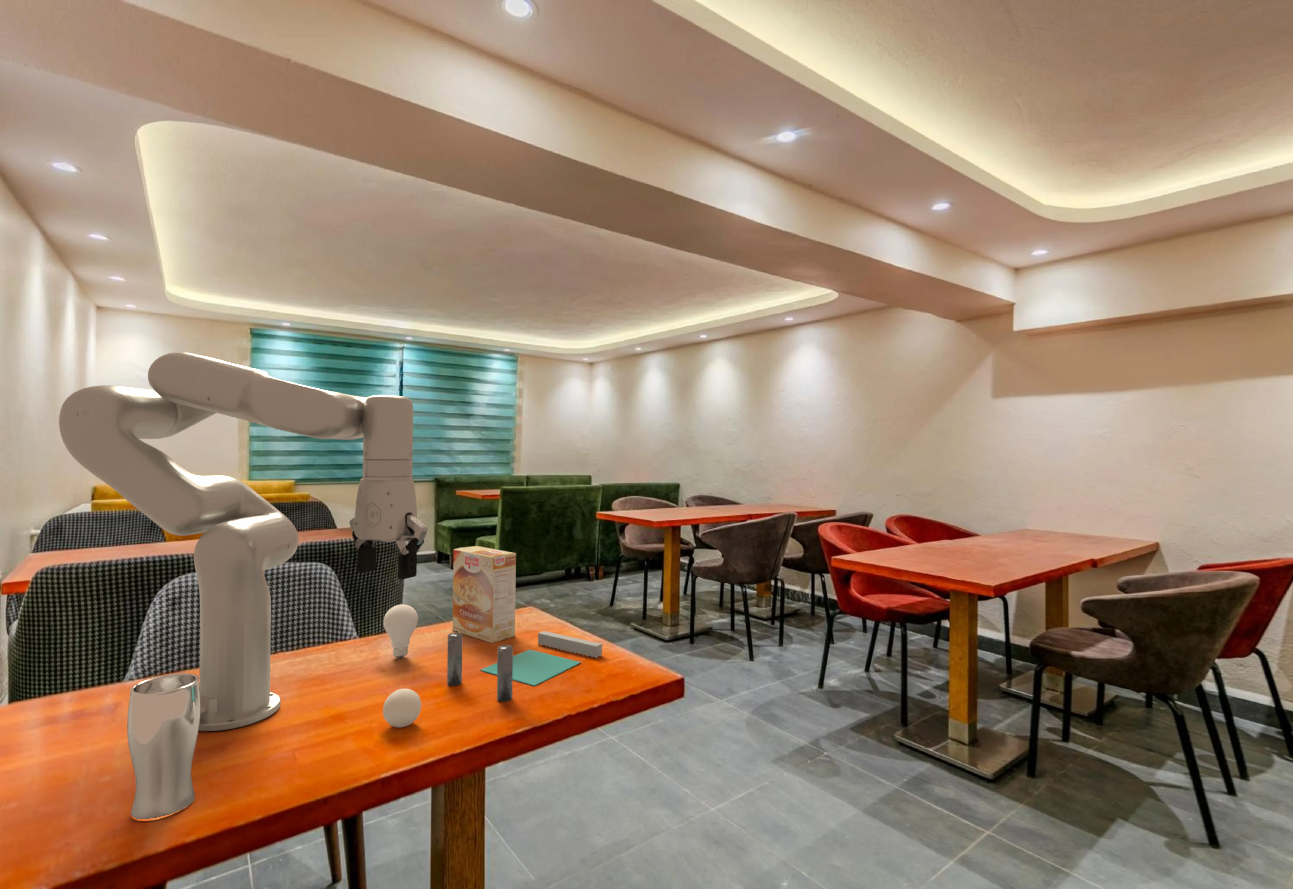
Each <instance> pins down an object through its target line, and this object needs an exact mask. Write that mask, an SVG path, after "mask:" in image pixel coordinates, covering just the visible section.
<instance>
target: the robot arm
mask: <svg viewBox="0 0 1293 889" xmlns="http://www.w3.org/2000/svg"><path fill="white" fill-rule="evenodd" d="M147 379H148V384H149V386H150V388H151V389H147V388H137V387H129V386H121V385H111V384H110V385H105V384H104V385H93V386H88V387H83V388H81V389H78V390H77V391H75V392H73V393H72V394H70V395H69V396H68V397H67V398H66V399H65V400H64V401H63V403H62V405H61V408H60V412H59V416H58V426H59V427H58V428H59V432H60V433H59V434H60V436H61V439H62V442H63V444H64V445H65V448H66V449H67V451H68V453H69V454H70V455H71V457H72V458H74V460H76V462H77V463H79V465H81V466H82V467H83V468H84V469H85V470H87V471H88V472H90V473H91V474H92V475H93V476H95V477H96V478H98V479H99V480H100V481H102V482H104V484H106V485H108V486H109V487H110V488H112V489H113V490H114V491H115V492H117V493H118V494H119V495H120V496H121V497H122V498H124V499H125V500H126V501H127V502H129V504H130V505H132V506H133V507H134V508H136V509H137V510H138V511H139V512H141V513H142V514H143V515H144V516H146V517H147V518H148V519H150V520H151V521H152V522H154V524H156V525H157V526H158V527H160V529H162V530H164V531H165V532H166V533H169V534H172V535H175V536H182V537H183V536H192V535H196V534H201V536H200V537H199V538H198V539H197V542H196V544H195V547H194V551H193V565H194V569H195V574H196V578H197V584H198V590H199V591H198V592H199V612H200V613H199V622H200V623H199V624H200V626H199V633H200V634H199V689H200V704H201V713H200V725H199V731H202V732H210V731H211V732H215V731H216V732H217V731H226V730H232V729H237V728H241V727H245V726H248V725H252V724H255V723H257V722H260V721H262V720H265V719H266V718H268V717H271V716H272V715H273V714H275V713H276V712H277V711H278V710H279V708H280V707H281V704H282V703H281V701H282V700H281V697H280V695H279V694H277V693H274V692H271V645H272V644H271V638H272V637H271V635H272V634H271V633H272V631H271V630H272V613H271V612H272V610H271V609H272V604H271V603H272V601H271V593H270V590H269V586H268V583H267V580H266V576H265V572H264V571H267V570H269V569H273V568H276V567H278V566H281V565H282V564H285V563H286V562H287V561H289V559H291V558H292V557H293V556H294V554H295V553H296V551H297V549H298V546H299V535H298V530H297V529H296V527H295V525H294V524H293V522H292V521H291V520H290V518H289V517H287V516H286V515H285V514H283V513H282V512H281V511H280V510H278V509H277V508H276V507H275V506H274V505H273V504H272V503H270V502H269V501H268V500H267V499H265V498H264V497H263V496H261V495H260V494H259V493H257V491H255V489H253V488H251V487H250V486H249V485H248V484H246V483H244V482H243V481H241V480H239V479H236V478H234V477H231V476H228V475H216V474H213V475H212V474H211V475H197V474H195V473H192V472H189V471H188V470H187V469H185V467H184V468H183V466H181V465H179V464H178V463H177V462H176V461H175V460H173V459H172V457H170V456H169V455H167V454H166V453H165V452H163V451H162V450H160V449H158V448H156V447H154V446H153V445H151V444H148V443H147V442H144V441H143V440H145V439H147V440H159V439H164V438H168V437H169V438H170V437H172V436H175V435H177V434H179V433H182V432H183V431H186V430H187V429H189V428H190V427H193V426H194V425H196V424H199V423H200V422H203V421H204V420H206V419H208V418H210V417H211V416H213V415H215V414H220V415H223V416H228V417H230V418H231V417H232V418H236V419H239V420H242V421H246V422H250V423H254V424H257V425H261V426H264V427H268V428H270V429H275V430H280V431H282V432H283V431H284V432H288V433H292V434H296V435H300V436H305V437H309V438H313V439H318V440H319V439H320V440H342V441H344V440H347V441H348V440H358V439H363V440H362V446H363V447H362V478H360V479H359V480H360V481H359V484H358V488H357V494H356V500H355V509H354V511H355V512H354V517H353V518H352V519H350V521H349V527H350V529H351V532H352V533H351V536H352V538H353V540H354V542H355V543H354V547H355V548H356V549H357V554H356V555H357V556H356V559H357V560H356V561H357V564H356V568H357V570H356V571H357V572H358V573H361V574H363V573H367V572H373V571H376V570H377V545H374V544H375V543H376V542H382V543H392V542H395V543H396V545H397V547H398V548H399V551H400V552H401V553H399V554H398V556H397V557H398V558H397V560H398V562H397V563H398V564H397V577H398V579H399V580H407V579H411V578H415V577H416V576H417V575H418V574H417V572H418V571H417V568H418V567H417V564H418V561H417V560H418V556H417V555H418V553H419V552H420V551H421V547H422V546H423V544H424V543H425V539H426V537H427V533H428V531H429V529H428V528H429V527H428V526H426V524H424V523H423V522H422V521H420V520H419V519H418V506H417V505H418V503H417V495H416V493H417V492H416V488H415V481H414V479H413V458H414V457H413V453H414V452H413V447H414V446H413V445H414V444H413V443H414V441H413V440H414V405H413V402H412V399H410V398H408V397H406V396H401V395H392V394H391V395H389V394H386V395H385V394H377V395H370V396H367V397H364V396H358V395H351V394H346V393H342V392H337V391H330V390H325V389H320V388H316V387H311V386H307V385H303V384H298V383H296V382H291V381H287V380H282V379H279V378H276V377H272V376H271V375H270V374H269V373H268V372H267V371H264V370H260V369H258V368H253V367H249V366H244V365H240V364H236V363H233V362H232V363H231V362H227V361H224V360H222V359H218V358H214V357H209V356H205V355H199V354H195V353H193V352H192V353H191V352H183V351H182V352H181V351H180V352H177V351H176V352H170V353H166V354H164V355H163V354H162V355H161V356H159V357H158V358H157V359H155V360H154V361H153V362H152V363H151V364H150V366H149V368H148V371H147ZM202 533H203V534H202ZM407 542H408V543H407ZM199 731H198V732H199Z"/></svg>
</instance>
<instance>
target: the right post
mask: <svg viewBox="0 0 1293 889" xmlns="http://www.w3.org/2000/svg"><path fill="white" fill-rule="evenodd" d="M513 656H514V647H513V645H511V644H502V645H499V646H497V662H496V663H497V675H496V677H497V679H496V687H497V688H496V701H498V702H501V703H506V702H510V701H512V700H513V681H514V680H513Z"/></svg>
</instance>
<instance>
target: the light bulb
mask: <svg viewBox="0 0 1293 889" xmlns="http://www.w3.org/2000/svg"><path fill="white" fill-rule="evenodd" d="M418 617H419V616H418V613H417V611H416V609H414V608H413V606H411V605H408V604H402V603H400V604H396V605H394V606H392V607H391V608H389V610H388V611H386V613H385V615H384V617H383V622H382V623H383V628H384V631H385V632H386V633H387V635H388V636H389V638H390V641H391V642H390V643H391V646H392V648H393V649H392V656H393V657H394V658H398V659H402V658H404V657H406V656H407V655H408V653H409V645H410V640H411V637H412V635H413V633H414V631H415V630H416V628H417V626H418V622H419V621H418V620H419V618H418Z"/></svg>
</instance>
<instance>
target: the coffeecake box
mask: <svg viewBox="0 0 1293 889" xmlns="http://www.w3.org/2000/svg"><path fill="white" fill-rule="evenodd" d="M452 559H453V562H452V563H453V564H452V565H453V566H452V568H453V572H452V573H453V574H452V576H453V577H452V628H451V629H452V631H453V632H456V631H457V632H456V633H459V632H460V633H462V635H465V636H469V637H472V638H475V639H479V640H481V641H485V642H488V643H491V644H494V642H495V643H497V641H498V642H501V641H503V640H506V638H507V639H509V638H512V637H515V636H516V590H517V589H516V588H517V587H516V585H517V583H516V581H517V580H516V578H517V576H516V573H517V570H516V567H517V553H516V552H510V551H507V550H501V549H495V548H489V547H484V546H478V545H474V546H473V545H472V546H466V547H465V546H464V547H458V548H454V549H453V558H452Z"/></svg>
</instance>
